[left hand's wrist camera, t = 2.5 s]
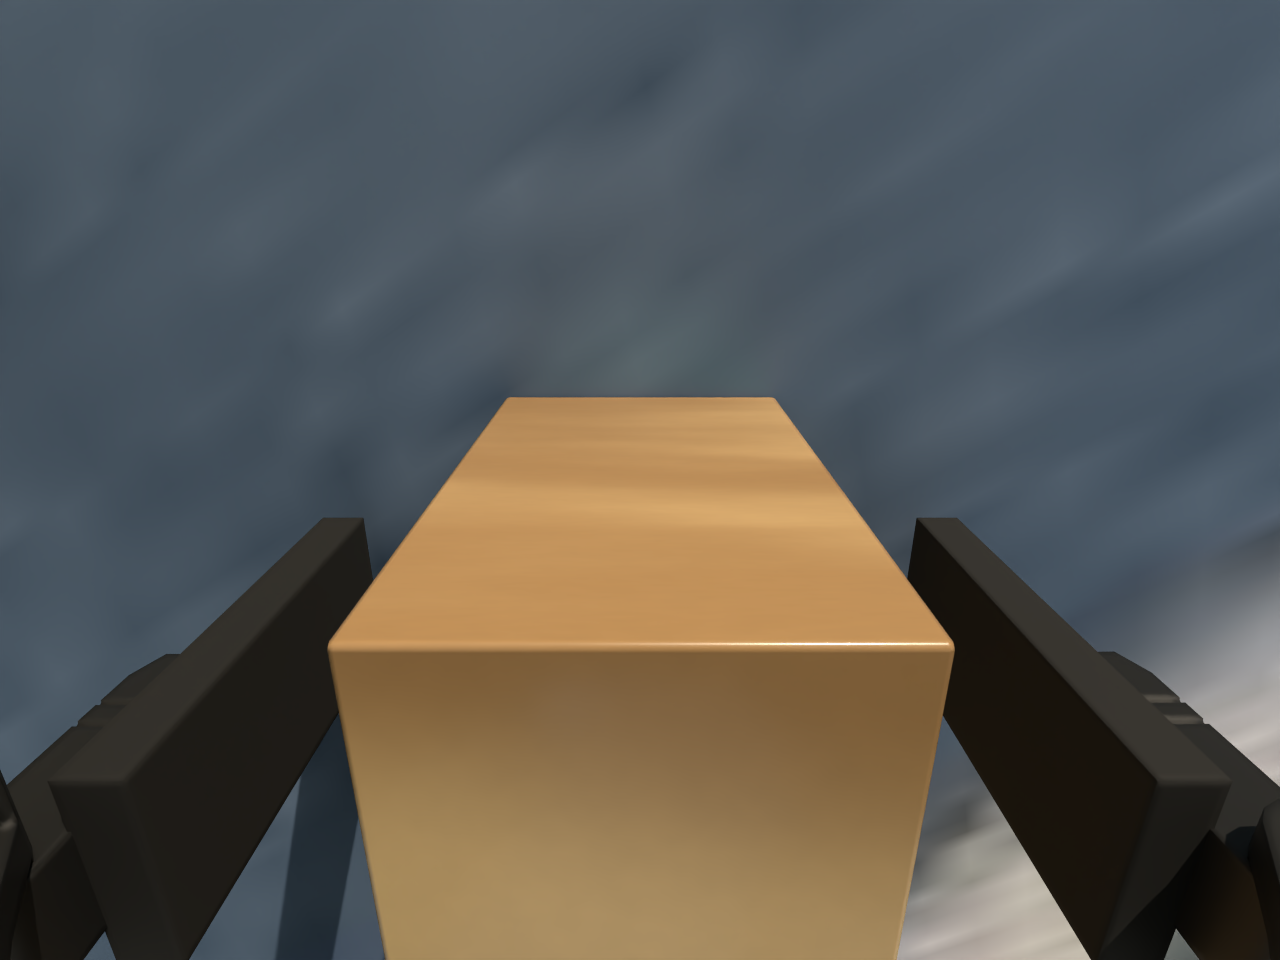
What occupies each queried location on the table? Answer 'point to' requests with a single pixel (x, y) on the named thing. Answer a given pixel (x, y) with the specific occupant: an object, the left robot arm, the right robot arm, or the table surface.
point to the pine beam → (640, 698)
